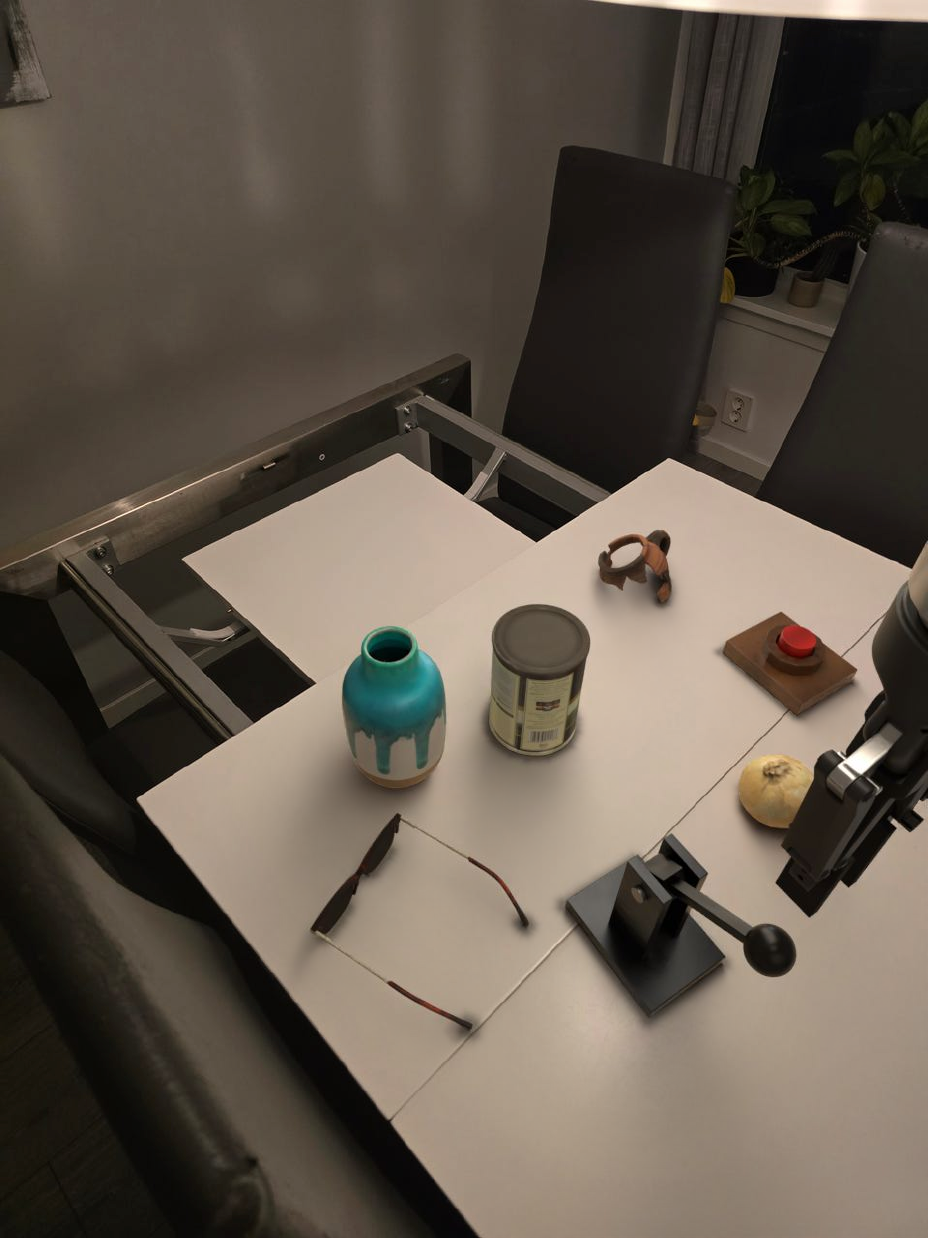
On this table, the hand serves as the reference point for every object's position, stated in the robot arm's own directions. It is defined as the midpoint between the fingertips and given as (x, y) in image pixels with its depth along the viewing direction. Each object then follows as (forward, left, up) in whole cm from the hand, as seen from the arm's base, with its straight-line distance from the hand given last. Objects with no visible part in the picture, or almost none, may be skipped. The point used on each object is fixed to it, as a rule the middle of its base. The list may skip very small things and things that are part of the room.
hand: (815, 882), depth 49 cm
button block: (+26, -38, -27) cm, 53 cm away
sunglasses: (+21, +17, -27) cm, 38 cm away
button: (+26, -38, -23) cm, 51 cm away
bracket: (+10, 0, -27) cm, 28 cm away
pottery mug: (+48, -33, -27) cm, 64 cm away
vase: (+39, +10, -27) cm, 48 cm away
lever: (+4, 0, -14) cm, 15 cm away
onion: (+13, -21, -27) cm, 36 cm away
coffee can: (+36, -6, -27) cm, 45 cm away
